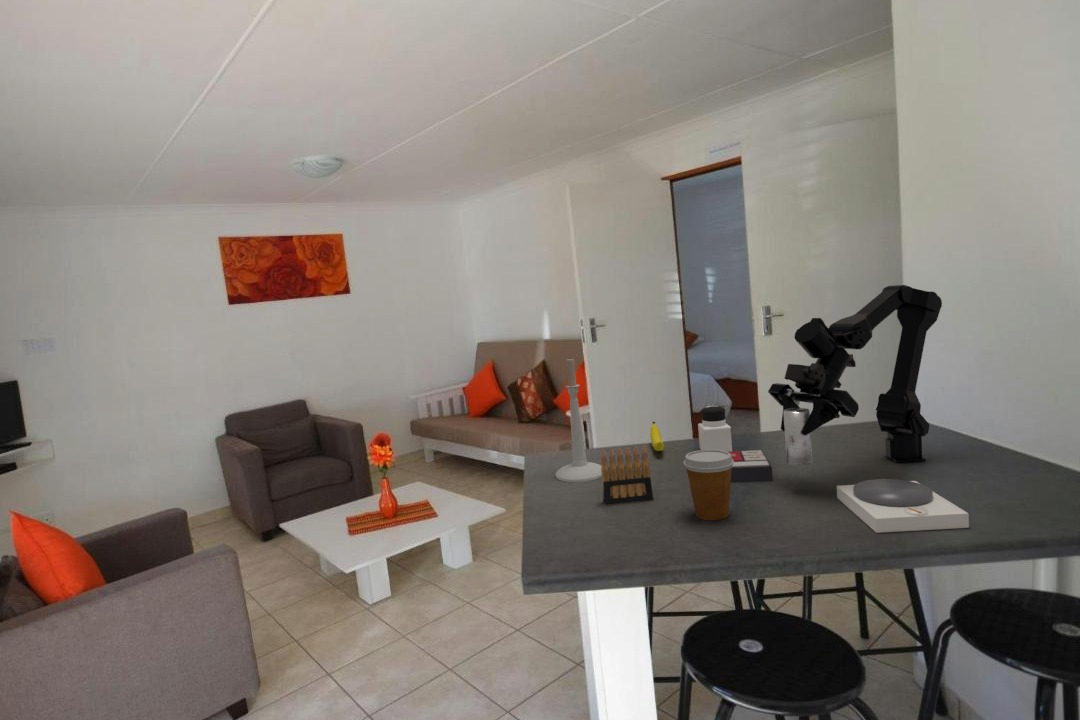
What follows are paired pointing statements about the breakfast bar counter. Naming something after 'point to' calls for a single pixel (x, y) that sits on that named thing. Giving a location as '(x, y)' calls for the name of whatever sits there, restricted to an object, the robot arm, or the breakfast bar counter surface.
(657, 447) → the banana
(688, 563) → the breakfast bar counter surface
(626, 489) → the ammunition clip
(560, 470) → the candlestick
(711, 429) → the medicine bottle
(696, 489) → the disposable coffee cup
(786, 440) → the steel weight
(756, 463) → the calculator
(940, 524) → the kitchen scale
